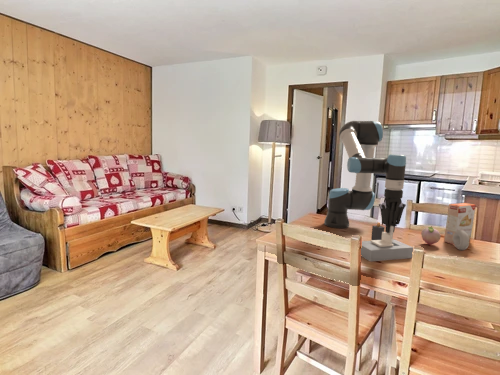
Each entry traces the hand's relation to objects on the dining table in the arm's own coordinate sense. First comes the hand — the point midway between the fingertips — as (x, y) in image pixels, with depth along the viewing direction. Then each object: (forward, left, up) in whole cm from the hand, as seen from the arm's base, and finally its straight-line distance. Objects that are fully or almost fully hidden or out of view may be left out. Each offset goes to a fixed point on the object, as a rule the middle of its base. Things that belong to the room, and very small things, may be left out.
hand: (389, 239), depth 138 cm
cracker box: (-9, +51, -8) cm, 52 cm away
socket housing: (0, -3, -7) cm, 8 cm away
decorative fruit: (-8, +32, -8) cm, 34 cm away
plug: (-12, +3, -7) cm, 14 cm away
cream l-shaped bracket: (0, -4, -2) cm, 4 cm away
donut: (+1, +41, -8) cm, 42 cm away
